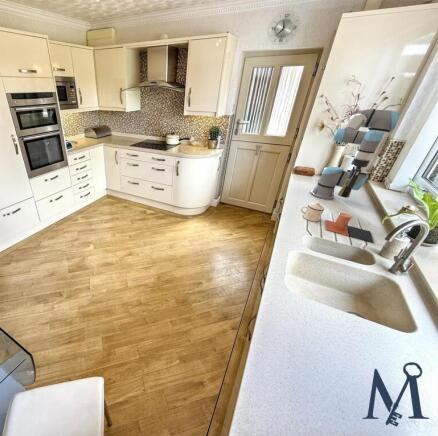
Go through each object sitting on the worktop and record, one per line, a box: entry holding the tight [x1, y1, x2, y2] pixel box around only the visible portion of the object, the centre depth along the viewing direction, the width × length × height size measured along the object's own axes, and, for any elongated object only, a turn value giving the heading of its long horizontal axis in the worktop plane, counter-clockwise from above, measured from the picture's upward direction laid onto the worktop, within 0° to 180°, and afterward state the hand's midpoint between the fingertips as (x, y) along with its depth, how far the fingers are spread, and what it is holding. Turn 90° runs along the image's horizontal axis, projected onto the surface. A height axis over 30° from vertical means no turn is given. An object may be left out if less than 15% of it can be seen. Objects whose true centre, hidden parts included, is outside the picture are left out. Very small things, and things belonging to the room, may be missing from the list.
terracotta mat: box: [325, 219, 350, 237], centre depth 145 cm, size 14×11×1 cm
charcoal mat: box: [347, 225, 374, 244], centre depth 139 cm, size 14×11×1 cm
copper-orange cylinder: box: [333, 212, 352, 230], centre depth 142 cm, size 6×6×9 cm
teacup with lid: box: [300, 201, 325, 223], centre depth 152 cm, size 12×9×12 cm
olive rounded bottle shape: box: [337, 178, 356, 198], centre depth 144 cm, size 6×6×11 cm
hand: (343, 195), depth 147 cm, fingers closed on olive rounded bottle shape, 6 cm apart
